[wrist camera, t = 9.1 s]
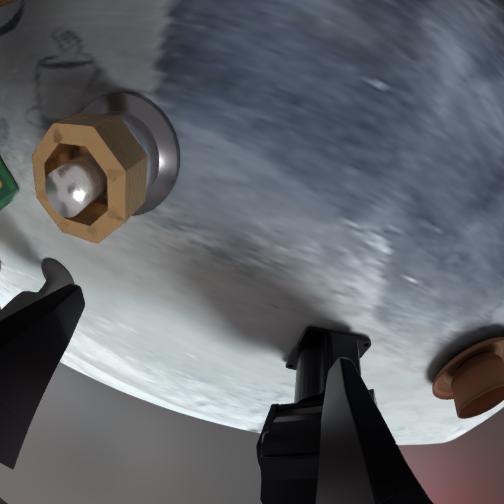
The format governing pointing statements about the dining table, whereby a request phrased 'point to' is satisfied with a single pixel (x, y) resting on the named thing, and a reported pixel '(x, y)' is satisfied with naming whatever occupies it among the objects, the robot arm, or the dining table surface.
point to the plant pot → (5, 2)
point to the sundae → (54, 281)
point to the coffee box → (6, 186)
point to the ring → (110, 160)
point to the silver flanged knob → (91, 174)
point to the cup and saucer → (474, 378)
